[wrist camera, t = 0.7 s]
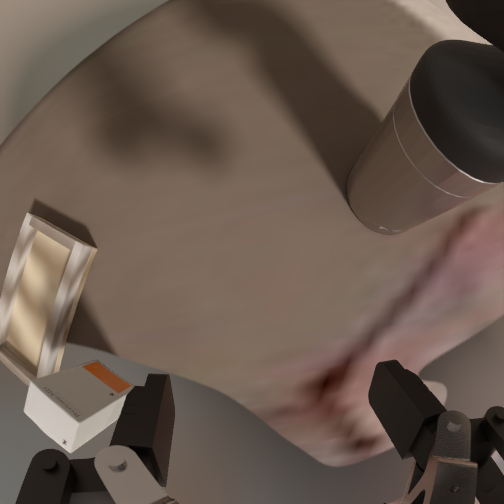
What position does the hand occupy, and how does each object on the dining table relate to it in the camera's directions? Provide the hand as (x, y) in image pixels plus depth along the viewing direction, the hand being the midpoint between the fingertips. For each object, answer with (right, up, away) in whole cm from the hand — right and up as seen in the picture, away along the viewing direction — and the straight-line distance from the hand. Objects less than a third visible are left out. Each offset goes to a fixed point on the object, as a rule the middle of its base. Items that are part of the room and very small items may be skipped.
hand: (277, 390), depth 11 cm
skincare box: (-17, -10, +20) cm, 28 cm away
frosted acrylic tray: (-28, -2, +21) cm, 35 cm away
